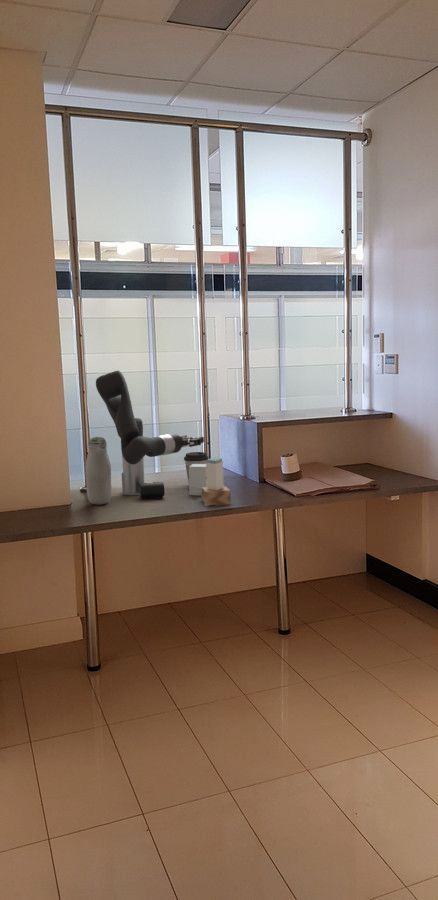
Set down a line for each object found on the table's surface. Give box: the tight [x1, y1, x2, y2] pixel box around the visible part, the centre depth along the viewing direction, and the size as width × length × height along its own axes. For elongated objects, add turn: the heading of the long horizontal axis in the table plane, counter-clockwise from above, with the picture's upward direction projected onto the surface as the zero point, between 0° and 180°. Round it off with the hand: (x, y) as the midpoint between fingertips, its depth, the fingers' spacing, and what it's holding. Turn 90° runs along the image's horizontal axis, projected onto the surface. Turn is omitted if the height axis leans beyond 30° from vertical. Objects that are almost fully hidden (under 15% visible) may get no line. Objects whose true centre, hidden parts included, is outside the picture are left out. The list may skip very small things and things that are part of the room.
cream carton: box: [206, 457, 225, 490], centre depth 288 cm, size 5×5×12 cm
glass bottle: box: [84, 436, 112, 506], centre depth 291 cm, size 10×10×28 cm
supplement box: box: [188, 464, 207, 496], centre depth 307 cm, size 7×7×13 cm
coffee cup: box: [183, 451, 209, 484], centre depth 324 cm, size 11×11×15 cm
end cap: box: [139, 481, 166, 500], centre depth 301 cm, size 10×7×7 cm
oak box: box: [201, 485, 232, 507], centre depth 290 cm, size 10×10×6 cm
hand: (194, 438), depth 278 cm, fingers open, 8 cm apart
